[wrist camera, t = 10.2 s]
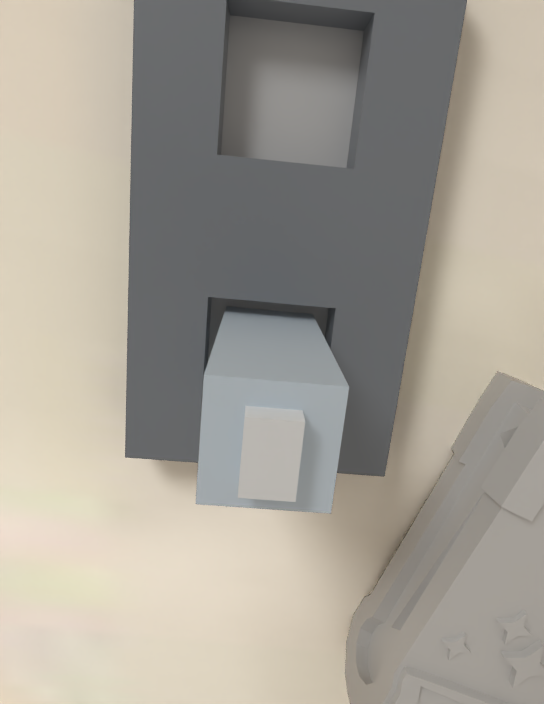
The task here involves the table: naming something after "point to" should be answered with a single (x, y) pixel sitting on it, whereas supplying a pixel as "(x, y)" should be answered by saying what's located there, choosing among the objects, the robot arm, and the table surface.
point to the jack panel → (281, 194)
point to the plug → (270, 414)
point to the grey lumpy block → (465, 573)
